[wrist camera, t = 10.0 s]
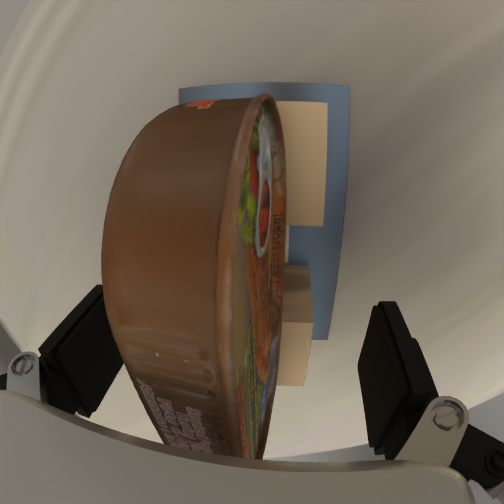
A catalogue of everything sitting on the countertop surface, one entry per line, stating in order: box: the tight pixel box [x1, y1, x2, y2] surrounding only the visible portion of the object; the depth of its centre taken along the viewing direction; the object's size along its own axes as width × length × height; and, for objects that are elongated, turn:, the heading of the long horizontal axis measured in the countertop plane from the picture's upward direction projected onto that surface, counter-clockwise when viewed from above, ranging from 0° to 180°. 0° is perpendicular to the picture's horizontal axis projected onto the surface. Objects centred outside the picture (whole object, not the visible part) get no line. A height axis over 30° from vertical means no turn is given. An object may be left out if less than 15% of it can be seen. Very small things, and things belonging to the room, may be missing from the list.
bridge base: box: [179, 83, 349, 386], centre depth 16 cm, size 10×18×7 cm, turn 1°
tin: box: [101, 93, 287, 460], centre depth 10 cm, size 15×3×8 cm, turn 1°
